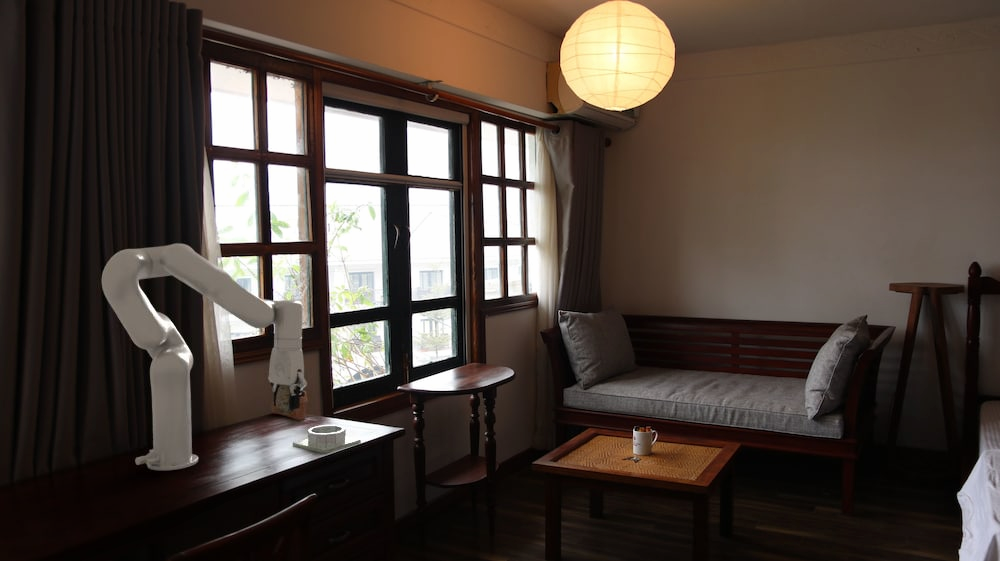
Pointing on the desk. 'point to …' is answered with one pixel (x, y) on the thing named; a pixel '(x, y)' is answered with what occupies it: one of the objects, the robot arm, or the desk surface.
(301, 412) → the pipe
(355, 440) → the duct collar
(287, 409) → the decorative egg
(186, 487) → the desk surface
